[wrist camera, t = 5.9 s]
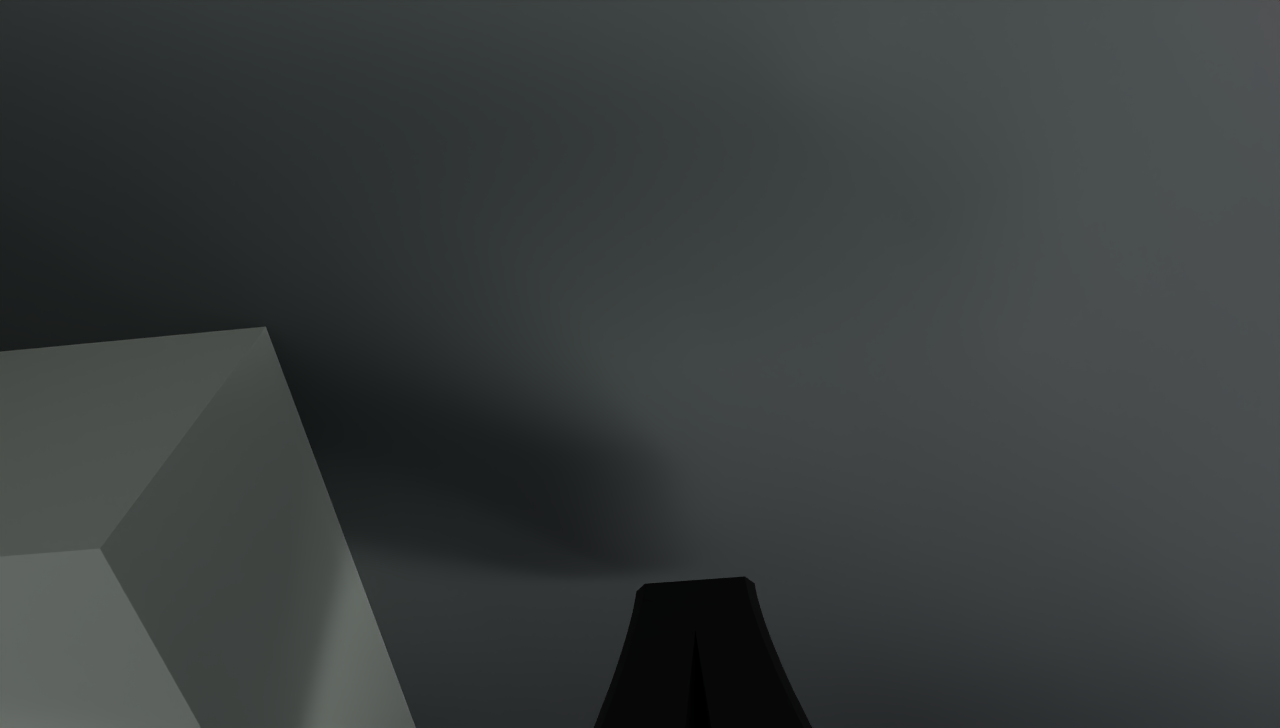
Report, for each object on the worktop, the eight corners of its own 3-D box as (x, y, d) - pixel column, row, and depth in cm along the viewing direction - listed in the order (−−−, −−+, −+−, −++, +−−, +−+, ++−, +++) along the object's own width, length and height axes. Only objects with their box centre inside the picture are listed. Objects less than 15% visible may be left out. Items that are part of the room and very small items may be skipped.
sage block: (273, 316, 11) (100, 548, 8) (429, 741, 15) (362, 1013, 12) (-192, 361, 11) (-556, 599, 8) (83, 762, 15) (-79, 1032, 12)
